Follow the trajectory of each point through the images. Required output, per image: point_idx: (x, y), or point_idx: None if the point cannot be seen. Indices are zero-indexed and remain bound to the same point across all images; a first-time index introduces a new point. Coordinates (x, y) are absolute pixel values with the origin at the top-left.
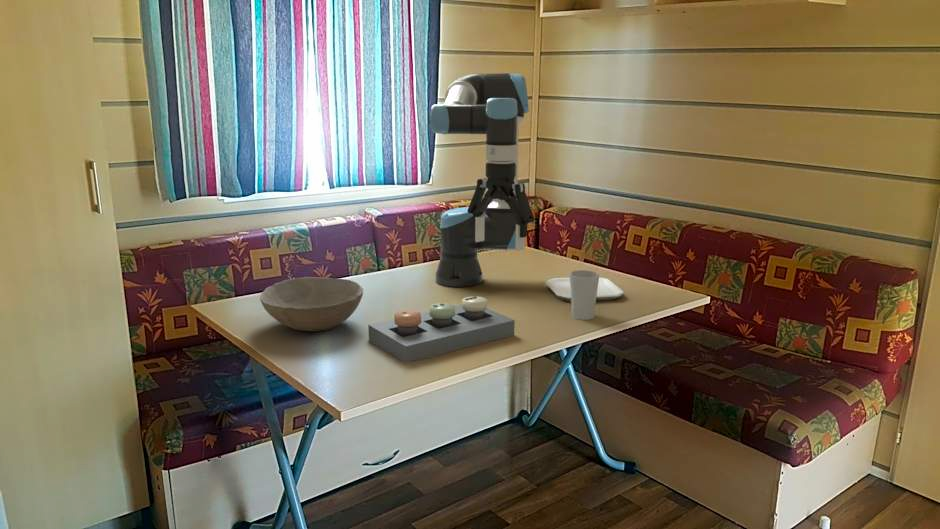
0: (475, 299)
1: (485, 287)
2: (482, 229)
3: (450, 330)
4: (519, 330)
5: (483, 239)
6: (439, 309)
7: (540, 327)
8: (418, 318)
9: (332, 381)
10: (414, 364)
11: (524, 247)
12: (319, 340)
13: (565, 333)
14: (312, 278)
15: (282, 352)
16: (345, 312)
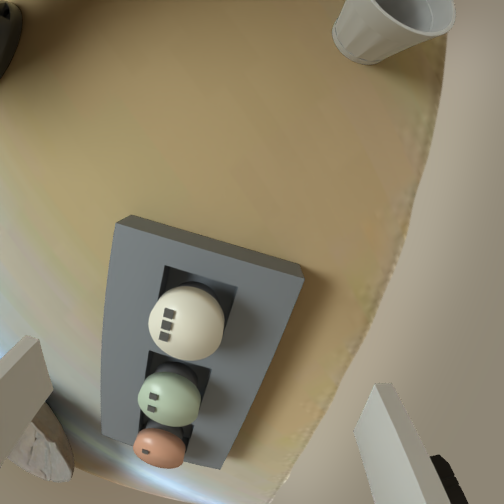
0: (181, 323)
1: (40, 28)
2: (3, 400)
3: (223, 405)
4: (291, 228)
5: (35, 350)
6: (176, 419)
7: (324, 175)
8: (182, 454)
9: (200, 494)
10: (235, 448)
11: (394, 391)
12: (77, 435)
13: (393, 178)
14: None
15: (92, 466)
16: (68, 444)
